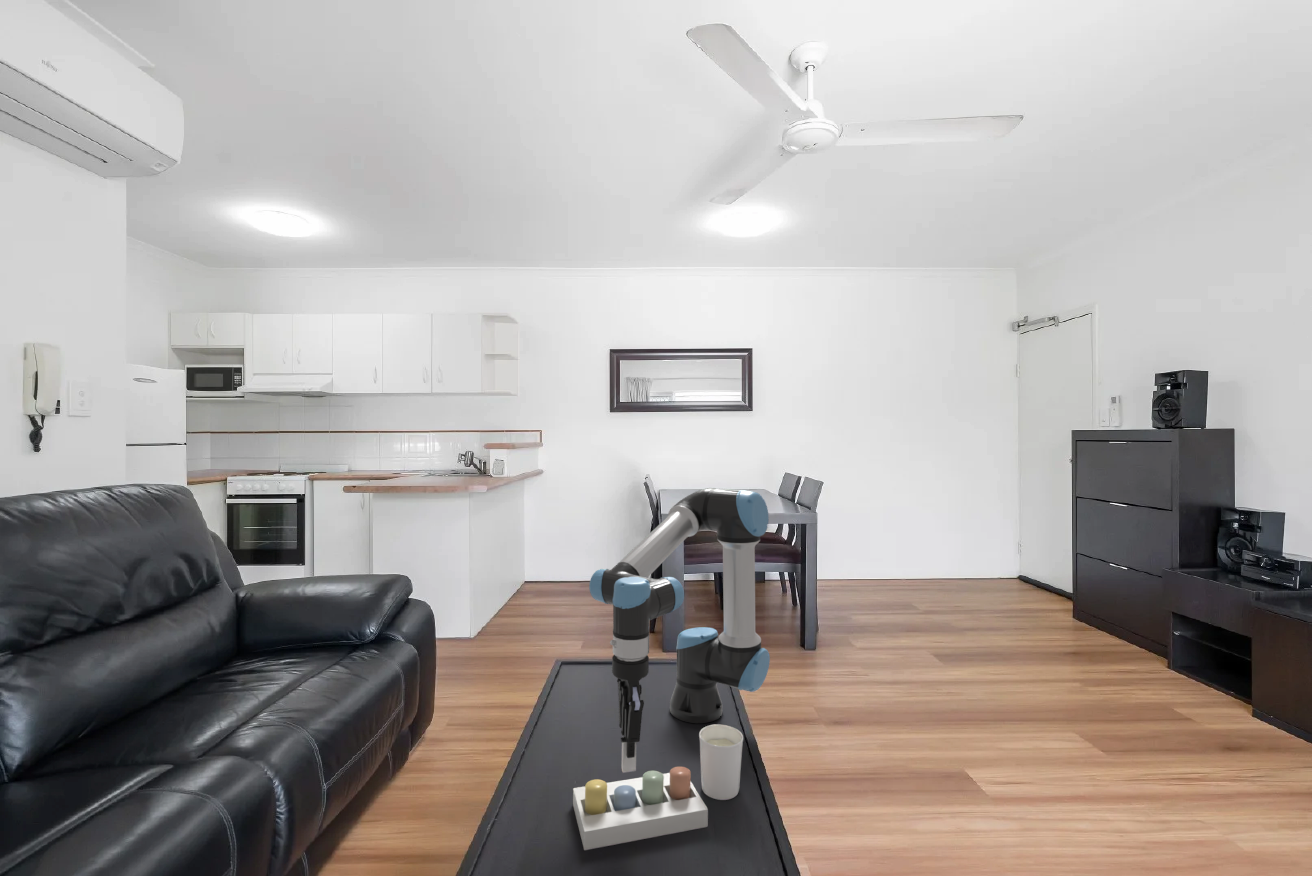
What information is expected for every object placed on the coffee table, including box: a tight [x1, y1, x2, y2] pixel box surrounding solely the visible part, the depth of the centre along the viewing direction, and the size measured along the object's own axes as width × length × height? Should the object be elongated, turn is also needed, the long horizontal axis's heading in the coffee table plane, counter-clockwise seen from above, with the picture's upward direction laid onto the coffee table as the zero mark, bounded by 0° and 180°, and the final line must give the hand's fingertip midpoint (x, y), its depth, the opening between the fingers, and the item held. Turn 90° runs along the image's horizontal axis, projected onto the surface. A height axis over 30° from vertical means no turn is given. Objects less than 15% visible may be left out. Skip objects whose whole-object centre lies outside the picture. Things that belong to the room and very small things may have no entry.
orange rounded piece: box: [669, 766, 692, 800], centre depth 120 cm, size 4×4×4 cm
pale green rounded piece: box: [642, 770, 664, 805], centre depth 119 cm, size 4×4×4 cm
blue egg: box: [614, 785, 636, 811], centre depth 117 cm, size 4×4×4 cm
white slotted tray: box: [572, 772, 709, 851], centre depth 118 cm, size 25×14×4 cm, turn 107°
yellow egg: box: [585, 778, 608, 815], centre depth 115 cm, size 4×4×4 cm
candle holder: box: [698, 723, 744, 801], centre depth 127 cm, size 10×10×12 cm
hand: (628, 769), depth 117 cm, fingers closed
